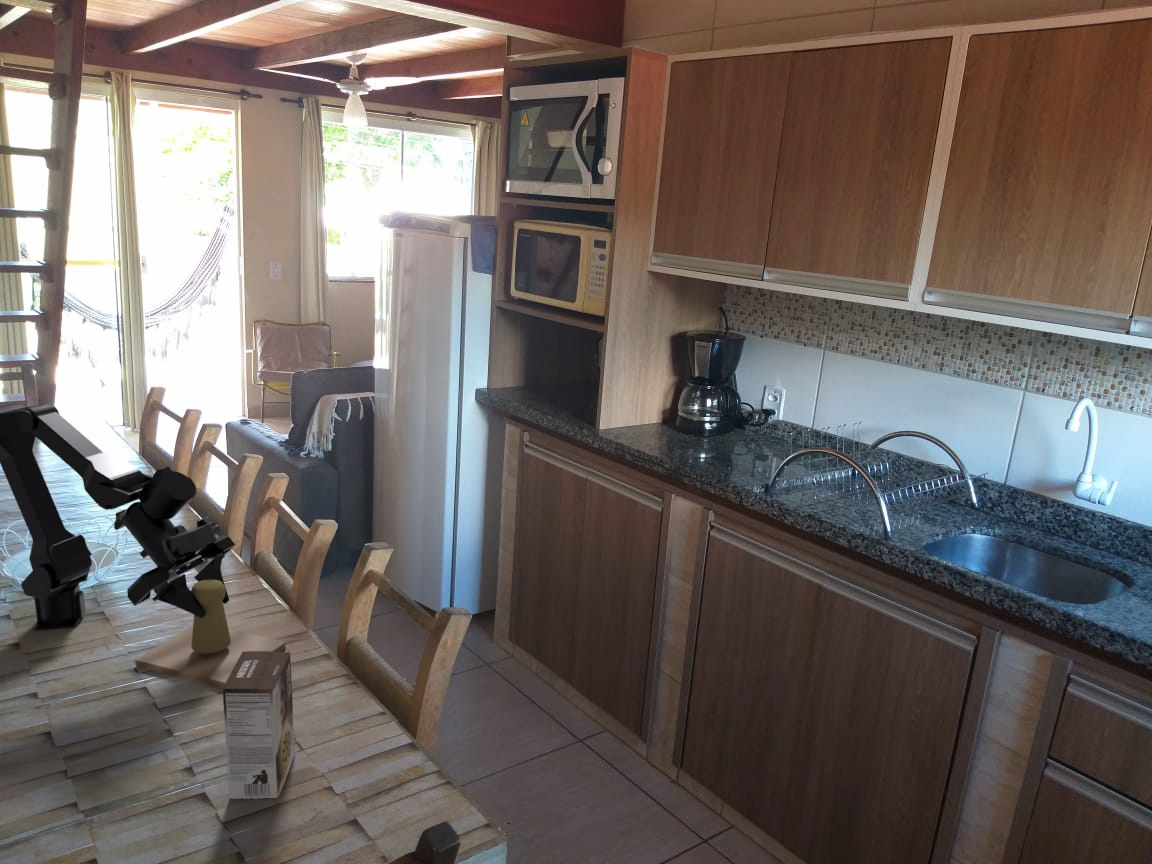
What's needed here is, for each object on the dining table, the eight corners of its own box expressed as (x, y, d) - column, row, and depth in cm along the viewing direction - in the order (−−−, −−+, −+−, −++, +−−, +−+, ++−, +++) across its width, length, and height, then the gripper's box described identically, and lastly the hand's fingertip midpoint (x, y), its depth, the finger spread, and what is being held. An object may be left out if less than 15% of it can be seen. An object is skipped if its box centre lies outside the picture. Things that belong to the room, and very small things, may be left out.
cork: (202, 657, 134) (198, 594, 131) (184, 643, 137) (180, 582, 135) (238, 644, 138) (234, 583, 135) (219, 631, 142) (216, 571, 139)
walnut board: (135, 666, 134) (135, 659, 134) (198, 627, 147) (198, 621, 147) (228, 690, 129) (228, 683, 129) (285, 648, 142) (285, 641, 142)
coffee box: (248, 755, 115) (242, 649, 111) (296, 754, 115) (292, 649, 111) (227, 800, 106) (219, 687, 102) (279, 800, 106) (274, 687, 102)
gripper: (136, 526, 124) (201, 608, 124) (223, 489, 141) (281, 561, 141) (99, 565, 128) (162, 644, 128) (188, 525, 146) (243, 595, 145)
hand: (215, 609), depth 136 cm, fingers closed on cork, 5 cm apart
